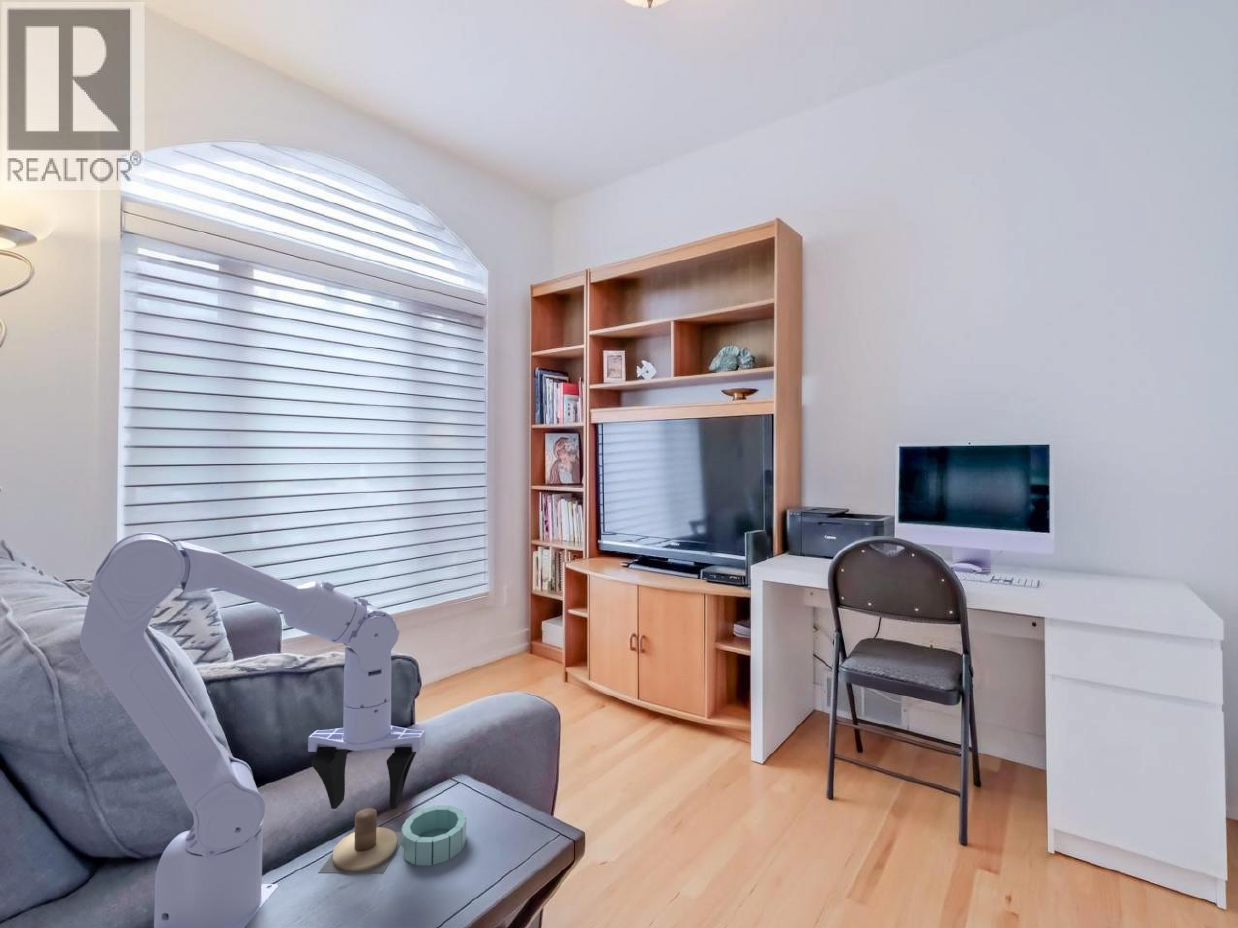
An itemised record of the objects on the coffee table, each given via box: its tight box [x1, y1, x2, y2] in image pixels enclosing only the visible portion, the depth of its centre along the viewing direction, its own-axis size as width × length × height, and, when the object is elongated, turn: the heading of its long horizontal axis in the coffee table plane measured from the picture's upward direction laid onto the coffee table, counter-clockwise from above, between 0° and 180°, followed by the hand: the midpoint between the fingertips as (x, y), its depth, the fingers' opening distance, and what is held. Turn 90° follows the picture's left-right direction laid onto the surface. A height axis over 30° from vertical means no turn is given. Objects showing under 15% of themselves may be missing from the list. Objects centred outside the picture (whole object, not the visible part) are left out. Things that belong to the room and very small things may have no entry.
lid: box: [332, 807, 397, 872], centre depth 74 cm, size 8×8×5 cm
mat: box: [318, 831, 402, 874], centre depth 74 cm, size 8×8×1 cm
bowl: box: [400, 804, 467, 866], centre depth 75 cm, size 8×8×3 cm
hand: (366, 804), depth 74 cm, fingers open, 7 cm apart
